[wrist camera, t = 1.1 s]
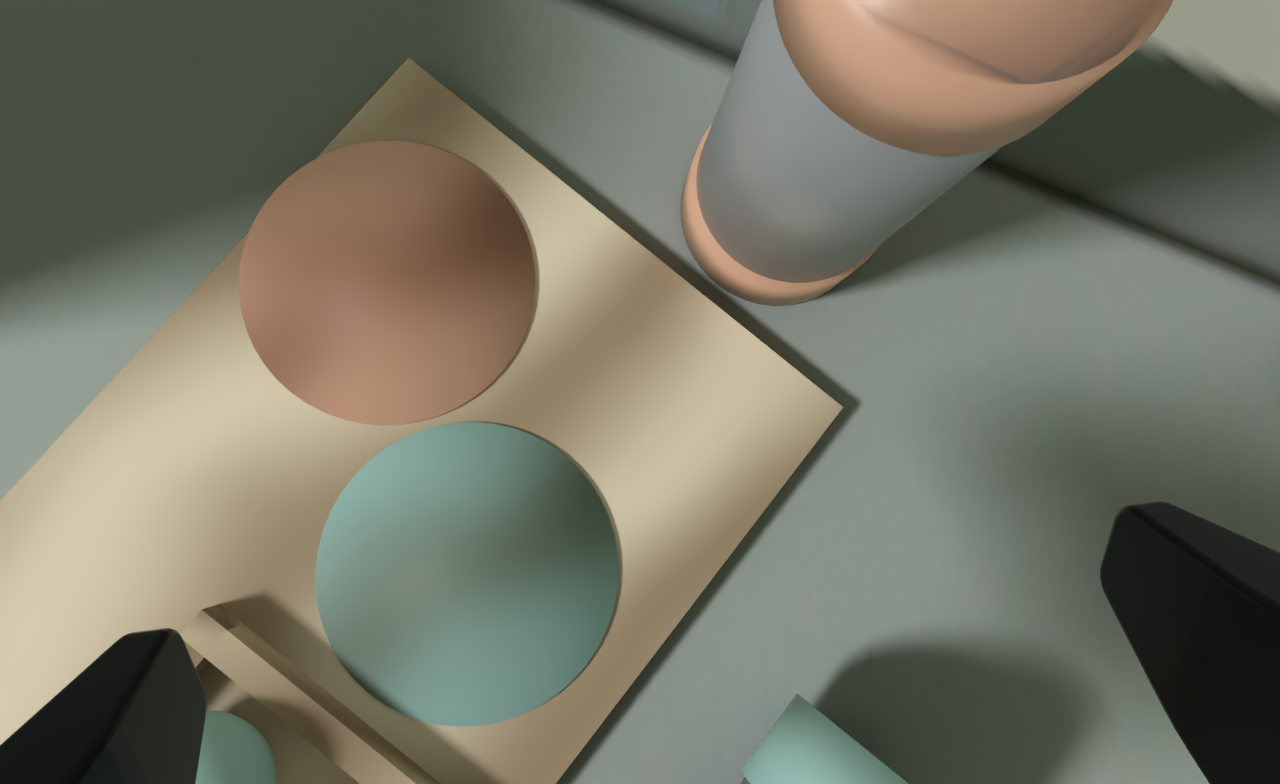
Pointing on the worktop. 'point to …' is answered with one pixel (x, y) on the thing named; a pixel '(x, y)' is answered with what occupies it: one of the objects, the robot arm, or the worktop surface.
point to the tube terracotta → (877, 123)
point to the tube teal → (813, 753)
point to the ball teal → (234, 752)
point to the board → (407, 466)
